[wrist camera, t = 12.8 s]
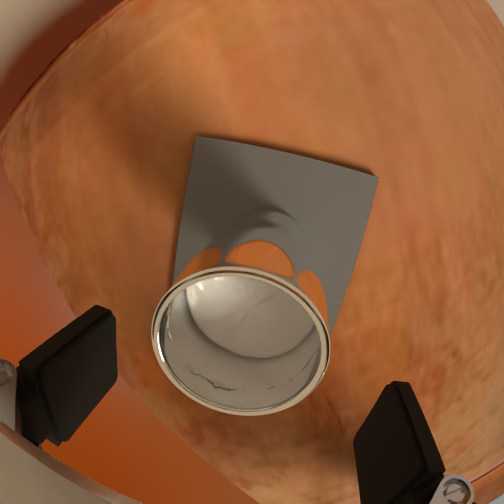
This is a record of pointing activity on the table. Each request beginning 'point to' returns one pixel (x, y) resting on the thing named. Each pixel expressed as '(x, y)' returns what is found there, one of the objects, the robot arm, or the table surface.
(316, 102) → the table surface
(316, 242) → the charcoal mat
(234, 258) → the beer glass
